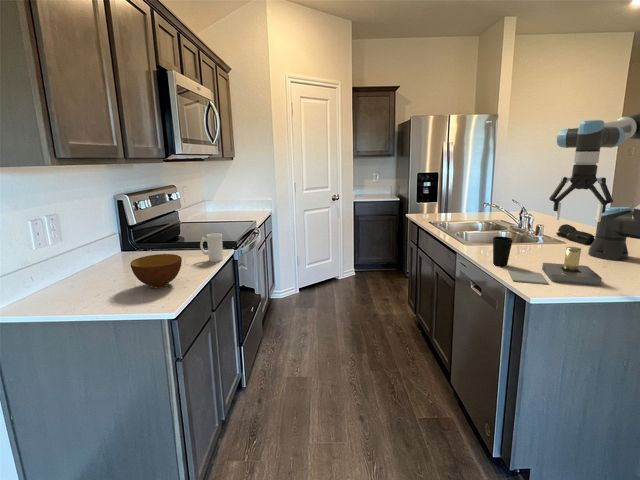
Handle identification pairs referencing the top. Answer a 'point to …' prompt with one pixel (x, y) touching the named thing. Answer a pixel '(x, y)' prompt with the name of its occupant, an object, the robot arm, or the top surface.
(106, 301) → the top surface
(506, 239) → the cup
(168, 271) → the bowl
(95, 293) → the top surface
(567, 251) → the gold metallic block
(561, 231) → the black flashlight
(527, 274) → the mat
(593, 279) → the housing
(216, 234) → the mug
